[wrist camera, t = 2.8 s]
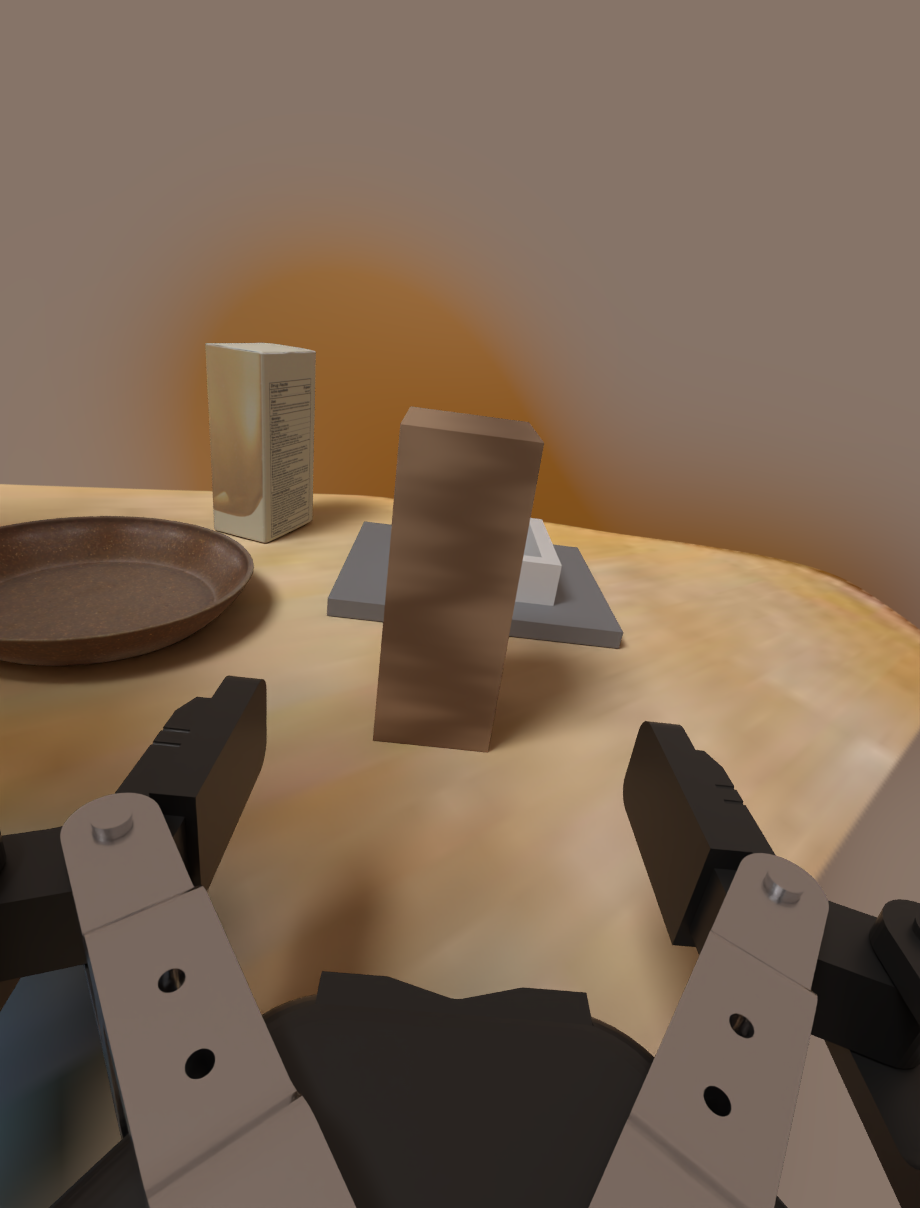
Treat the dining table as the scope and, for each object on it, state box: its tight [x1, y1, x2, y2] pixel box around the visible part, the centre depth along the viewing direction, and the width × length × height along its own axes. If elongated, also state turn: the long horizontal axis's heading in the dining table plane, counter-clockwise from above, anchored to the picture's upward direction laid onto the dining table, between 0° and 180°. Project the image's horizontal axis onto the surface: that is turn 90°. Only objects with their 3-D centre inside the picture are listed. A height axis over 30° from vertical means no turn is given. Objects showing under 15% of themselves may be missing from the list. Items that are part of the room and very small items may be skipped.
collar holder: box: [327, 518, 623, 648], centre depth 39 cm, size 16×14×4 cm
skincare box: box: [205, 343, 316, 543], centre depth 42 cm, size 6×4×12 cm
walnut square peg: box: [373, 407, 544, 752], centre depth 24 cm, size 4×4×12 cm
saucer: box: [0, 516, 254, 666], centre depth 30 cm, size 15×15×3 cm
